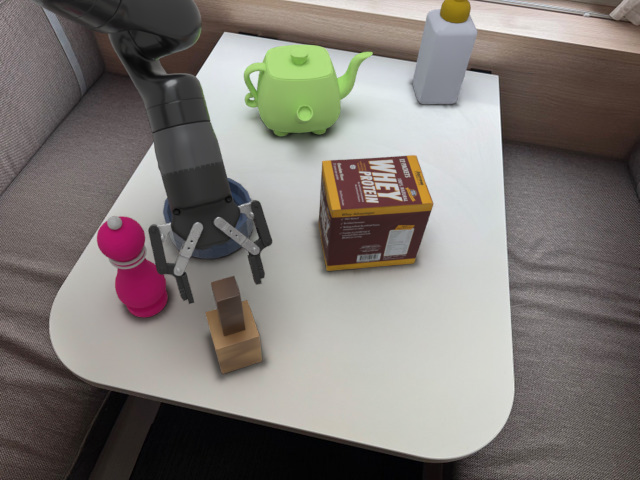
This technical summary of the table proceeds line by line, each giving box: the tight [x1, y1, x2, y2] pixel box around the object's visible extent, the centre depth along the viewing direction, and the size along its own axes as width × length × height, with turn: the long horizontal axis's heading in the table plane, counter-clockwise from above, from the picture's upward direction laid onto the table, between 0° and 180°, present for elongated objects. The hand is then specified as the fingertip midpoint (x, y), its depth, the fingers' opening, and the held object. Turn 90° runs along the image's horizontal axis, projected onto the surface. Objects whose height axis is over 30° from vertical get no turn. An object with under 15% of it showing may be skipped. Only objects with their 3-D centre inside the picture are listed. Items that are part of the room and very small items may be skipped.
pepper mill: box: [96, 215, 168, 318], centre depth 73 cm, size 7×7×20 cm
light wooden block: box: [204, 299, 263, 375], centre depth 74 cm, size 6×6×8 cm
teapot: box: [243, 44, 374, 137], centre depth 102 cm, size 25×22×16 cm
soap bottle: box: [411, 0, 478, 105], centre depth 107 cm, size 9×9×25 cm
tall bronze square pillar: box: [210, 275, 246, 336], centre depth 67 cm, size 3×3×9 cm
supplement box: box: [317, 154, 435, 272], centre depth 84 cm, size 10×15×16 cm
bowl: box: [162, 177, 254, 260], centre depth 89 cm, size 14×14×6 cm
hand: (225, 292), depth 65 cm, fingers open, 8 cm apart
